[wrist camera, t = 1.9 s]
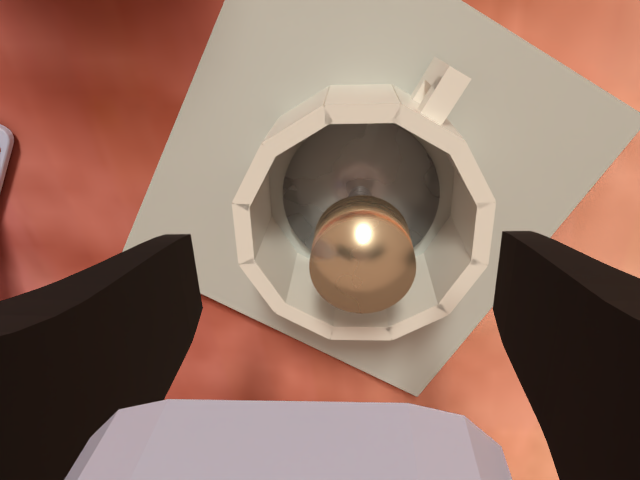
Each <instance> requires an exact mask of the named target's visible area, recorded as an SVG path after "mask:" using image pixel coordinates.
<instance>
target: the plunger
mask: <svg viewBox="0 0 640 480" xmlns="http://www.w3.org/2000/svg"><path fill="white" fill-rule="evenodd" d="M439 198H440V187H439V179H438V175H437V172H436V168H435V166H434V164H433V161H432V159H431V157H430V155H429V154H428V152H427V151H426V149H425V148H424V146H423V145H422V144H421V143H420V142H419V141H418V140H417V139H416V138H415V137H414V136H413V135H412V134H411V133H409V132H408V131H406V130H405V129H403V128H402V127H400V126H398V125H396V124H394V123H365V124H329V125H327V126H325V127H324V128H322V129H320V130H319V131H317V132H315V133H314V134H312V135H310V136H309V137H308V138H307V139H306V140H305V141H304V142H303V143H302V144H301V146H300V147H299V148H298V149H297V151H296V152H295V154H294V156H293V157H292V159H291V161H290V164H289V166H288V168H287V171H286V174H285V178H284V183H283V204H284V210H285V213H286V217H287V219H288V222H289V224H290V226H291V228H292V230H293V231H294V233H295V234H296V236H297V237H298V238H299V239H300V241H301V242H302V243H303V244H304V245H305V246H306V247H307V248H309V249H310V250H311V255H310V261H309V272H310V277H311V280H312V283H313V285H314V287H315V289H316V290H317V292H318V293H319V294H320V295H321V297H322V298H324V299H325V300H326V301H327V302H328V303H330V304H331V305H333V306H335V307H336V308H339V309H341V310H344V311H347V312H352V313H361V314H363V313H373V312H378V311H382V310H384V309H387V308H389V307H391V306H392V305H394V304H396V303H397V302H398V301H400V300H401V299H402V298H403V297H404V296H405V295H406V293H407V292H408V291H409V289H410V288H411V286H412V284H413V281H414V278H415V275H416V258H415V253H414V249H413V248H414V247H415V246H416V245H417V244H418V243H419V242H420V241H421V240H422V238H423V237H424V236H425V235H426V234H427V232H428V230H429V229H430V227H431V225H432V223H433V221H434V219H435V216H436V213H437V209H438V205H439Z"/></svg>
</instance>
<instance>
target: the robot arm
mask: <svg viewBox="0 0 640 480" xmlns="http://www.w3.org/2000/svg"><path fill="white" fill-rule="evenodd" d="M13 144H14V137H13V134H12V132H11V131H10V130H9V129H8V128H7V127H5V126H3V125H1V124H0V148H1V152H0V193H1V189H2V185H3V181H4V178H5V174H6V170H7V166H8V163H9V159H10V155H11V151H12V148H13ZM202 308H203V307H202V301H201V295H200V289H199V282H198V276H197V270H196V264H195V258H194V251H193V245H192V239H191V234H165V235H161V236H158V237H155V238H152V239H150V240H148V241H145V242H143V243H141V244H139V245H136V246H134V247H132V248H130V249H128V250H126V251H124V252H122V253H120V254H117V255H115V256H113V257H111V258H109V259H107V260H105V261H103V262H101V263H98V264H96V265H94V266H92V267H89V268H87V269H85V270H82V271H80V272H78V273H76V274H73V275H71V276H69V277H66V278H64V279H62V280H59V281H57V282H54V283H52V284H49V285H47V286H44V287H41V288H39V289H36V290H33V291H30V292H27V293H24V294H21V295H18V296H15V297H12V298H9V299H6V300H2V301H0V480H512V477H511V474H510V471H509V468H508V465H507V462H506V459H505V456H504V453H503V450H502V447H501V446H500V445H499V444H498V443H497V442H495V441H494V440H493V439H492V438H490V437H489V436H488V435H487V434H486V433H484V432H483V431H482V430H481V429H480V428H478V427H477V426H476V425H475V424H474V423H472V422H471V421H470V420H469V419H468V418H466V417H465V416H464V415H460V414H455V413H451V412H446V411H442V410H437V409H433V408H428V407H424V406H419V405H415V404H410V403H375V402H313V401H250V400H187V399H167V400H164V398H165V396H166V394H167V392H168V390H169V388H170V386H171V384H172V382H173V380H174V378H175V376H176V374H177V372H178V370H179V368H180V366H181V364H182V362H183V360H184V358H185V356H186V354H187V352H188V350H189V347H190V345H191V343H192V341H193V338H194V335H195V332H196V329H197V326H198V322H199V319H200V315H201V312H202ZM493 311H494V315H495V319H496V323H497V326H498V330H499V333H500V336H501V340H502V343H503V346H504V348H505V350H506V352H507V355H508V357H509V359H510V361H511V363H512V366H513V368H514V370H515V372H516V374H517V377H518V379H519V381H520V383H521V385H522V387H523V389H524V392H525V394H526V396H527V398H528V400H529V402H530V404H531V407H532V409H533V411H534V413H535V415H536V417H537V419H538V422H539V424H540V426H541V429H542V431H543V433H544V436H545V438H546V441H547V443H548V446H549V449H550V452H551V455H552V458H553V461H554V464H555V467H556V470H557V473H558V476H559V479H560V480H640V278H637V277H635V276H632V275H630V274H628V273H625V272H623V271H620V270H618V269H616V268H613V267H611V266H609V265H607V264H604V263H602V262H600V261H598V260H596V259H594V258H591V257H589V256H587V255H585V254H583V253H581V252H579V251H577V250H575V249H573V248H570V247H568V246H566V245H564V244H562V243H560V242H558V241H556V240H553V239H551V238H549V237H547V236H544V235H542V234H539V233H536V232H533V231H502V238H501V246H500V254H499V262H498V270H497V278H496V286H495V294H494V302H493Z"/></svg>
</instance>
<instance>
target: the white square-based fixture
mask: <svg viewBox="0 0 640 480" xmlns="http://www.w3.org/2000/svg"><path fill="white" fill-rule="evenodd" d="M365 123H394V124H396V125H398V126H400V127H402V128H403V129H405V130H406V131H408V132H409V133H411V134H412V135H413V136H414V137H415V138H416V139H417V140H418V141H419V142H420V143H421V144H422V145H423V146H424V148H425V149H426V151H427V152H428V154H429V155H430V157H431V159H432V161H433V164H434V166H435V168H436V172H437V175H438V179H439V187H440V198H439V205H438V209H437V213H436V216H435V219H434V221H433V223H432V225H431V227H430V229H429V230H428V232H427V234H426V235H425V236H424V237H423V238H422V240H421V241H420V242H419V243H418V244H417V245H416V246H415V247H414V248H413V249H414V253H415V258H416V275H415V278H414V281H413V284H412V286H411V288H410V289H409V291H408V292H407V293H406V295H405V296H404V297H403V298H402V299H401V300H400V301H398V302H397V303H396V304H394V305H392V306H391V307H389V308H387V309H384V310H382V311H378V312H373V313H363V314H361V313H352V312H347V311H344V310H341V309H339V308H336V307H335V306H333V305H331V304H330V303H328V302H327V301H326V300H325V299H324V298H322V297H321V295H320V294H319V293H318V292H317V290H316V289H315V287H314V285H313V283H312V280H311V277H310V272H309V261H310V255H311V250H310V249H309V248H307V247H306V246H305V245H304V244H303V243H302V242H301V241H300V239H299V238H298V237H297V236H296V234H295V233H294V231H293V230H292V228H291V226H290V224H289V222H288V219H287V217H286V213H285V210H284V204H283V183H284V178H285V174H286V171H287V168H288V166H289V164H290V161H291V159H292V157H293V156H294V154H295V152H296V151H297V149H298V148H299V147H300V146H301V144H302V143H303V142H304V141H305V140H306V139H307V138H308V137H309V136H310V135H312V134H314V133H315V132H317V131H319V130H320V129H322V128H324V127H325V126H327V125H329V124H365ZM639 130H640V112H638V111H637V110H635V109H634V108H632V107H630V106H629V105H627V104H626V103H624V102H622V101H621V100H619V99H618V98H616V97H614V96H613V95H611V94H610V93H608V92H606V91H605V90H603V89H602V88H600V87H598V86H597V85H595V84H594V83H592V82H590V81H589V80H587V79H586V78H584V77H582V76H581V75H579V74H578V73H576V72H575V71H573V70H571V69H570V68H568V67H567V66H565V65H563V64H562V63H560V62H559V61H557V60H555V59H554V58H552V57H551V56H549V55H547V54H546V53H544V52H543V51H541V50H539V49H538V48H536V47H535V46H533V45H531V44H530V43H528V42H527V41H525V40H523V39H522V38H520V37H519V36H517V35H516V34H514V33H512V32H511V31H509V30H508V29H506V28H504V27H503V26H501V25H500V24H498V23H496V22H495V21H493V20H492V19H490V18H488V17H487V16H485V15H484V14H482V13H480V12H479V11H477V10H476V9H474V8H472V7H471V6H469V5H468V4H466V3H465V2H463V1H461V0H225V1H224V4H223V6H222V9H221V11H220V13H219V16H218V18H217V21H216V23H215V26H214V28H213V31H212V33H211V36H210V38H209V40H208V43H207V45H206V48H205V50H204V53H203V55H202V58H201V60H200V63H199V65H198V67H197V70H196V72H195V75H194V77H193V80H192V82H191V85H190V87H189V90H188V92H187V94H186V97H185V99H184V102H183V104H182V107H181V109H180V112H179V114H178V117H177V119H176V121H175V124H174V126H173V129H172V131H171V134H170V136H169V139H168V141H167V144H166V146H165V148H164V151H163V153H162V156H161V158H160V161H159V163H158V166H157V168H156V171H155V173H154V175H153V178H152V180H151V183H150V185H149V188H148V190H147V193H146V195H145V198H144V200H143V202H142V205H141V207H140V210H139V212H138V215H137V217H136V220H135V222H134V225H133V227H132V229H131V232H130V234H129V237H128V239H127V242H126V244H125V247H124V249H123V252H124V251H126V250H128V249H130V248H132V247H134V246H136V245H139V244H141V243H143V242H145V241H148V240H150V239H152V238H155V237H158V236H161V235H165V234H191V239H192V245H193V251H194V258H195V264H196V270H197V276H198V282H199V289H200V293H201V294H203V295H205V296H207V297H209V298H211V299H213V300H215V301H217V302H219V303H222V304H224V305H226V306H228V307H230V308H232V309H234V310H236V311H238V312H240V313H242V314H245V315H247V316H249V317H251V318H253V319H255V320H257V321H259V322H261V323H263V324H265V325H268V326H270V327H272V328H274V329H276V330H278V331H280V332H282V333H284V334H286V335H288V336H291V337H293V338H295V339H297V340H299V341H301V342H303V343H305V344H307V345H309V346H311V347H314V348H316V349H318V350H320V351H322V352H324V353H326V354H328V355H330V356H332V357H335V358H337V359H339V360H341V361H343V362H345V363H347V364H349V365H351V366H353V367H355V368H358V369H360V370H362V371H364V372H366V373H368V374H370V375H372V376H374V377H376V378H378V379H381V380H383V381H385V382H387V383H389V384H391V385H393V386H395V387H397V388H399V389H401V390H404V391H406V392H408V393H410V394H412V395H414V396H416V397H418V396H419V394H420V393H421V392H422V391H423V390H424V388H425V387H426V386H427V385H428V384H429V382H430V381H431V380H432V379H433V378H434V376H435V375H436V374H437V373H438V372H439V370H440V369H441V368H442V367H443V366H444V364H445V363H446V362H447V361H448V360H449V358H450V357H451V356H452V355H453V354H454V352H455V351H456V350H457V349H458V348H459V346H460V345H461V344H462V343H463V342H464V340H465V339H466V338H467V337H468V336H469V334H470V333H471V332H472V331H473V330H474V328H475V327H476V326H477V325H478V324H479V322H480V321H481V320H482V319H483V318H484V316H485V315H486V314H487V313H488V312H489V310H490V309H491V308H492V307H493V302H494V294H495V286H496V278H497V270H498V262H499V254H500V246H501V238H502V231H533V232H536V233H539V234H542V235H544V236H547V237H549V238H550V237H551V236H552V235H553V234H554V232H555V231H556V230H557V229H558V228H559V226H560V225H561V224H562V223H563V222H564V220H565V219H566V218H567V217H568V216H569V214H570V213H571V212H572V211H573V210H574V208H575V207H576V206H577V205H578V203H579V202H580V201H581V200H582V199H583V197H584V196H585V195H586V194H587V193H588V191H589V190H590V189H591V188H592V187H593V185H594V184H595V183H596V182H597V181H598V179H599V178H600V177H601V176H602V175H603V173H604V172H605V171H606V170H607V169H608V167H609V166H610V165H611V164H612V163H613V161H614V160H615V159H616V158H617V157H618V155H619V154H620V153H621V152H622V151H623V149H624V148H625V147H626V146H627V145H628V143H629V142H630V141H631V140H632V139H633V137H634V136H635V135H636V134H637V133H638V131H639Z"/></svg>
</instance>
